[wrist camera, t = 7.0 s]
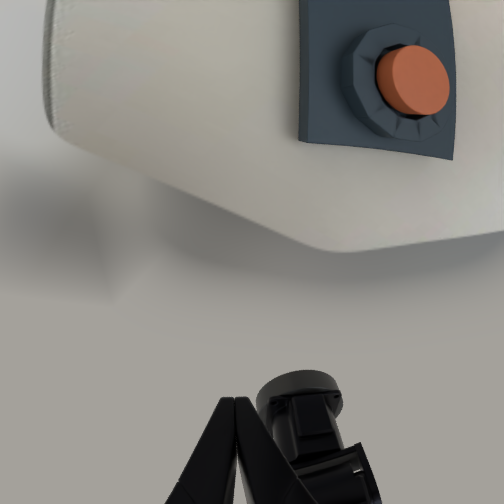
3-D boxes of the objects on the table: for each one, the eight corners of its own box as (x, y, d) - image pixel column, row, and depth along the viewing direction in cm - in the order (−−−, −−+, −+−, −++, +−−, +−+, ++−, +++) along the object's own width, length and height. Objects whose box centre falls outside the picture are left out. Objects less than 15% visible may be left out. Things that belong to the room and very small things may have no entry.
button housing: (434, 155, 18) (470, 165, 14) (297, 140, 17) (316, 145, 13) (431, 3, 13) (463, -9, 9) (297, -32, 12) (312, -61, 9)
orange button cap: (430, 119, 13) (449, 121, 12) (375, 108, 13) (392, 107, 12) (430, 59, 12) (449, 56, 10) (375, 43, 12) (391, 36, 10)
